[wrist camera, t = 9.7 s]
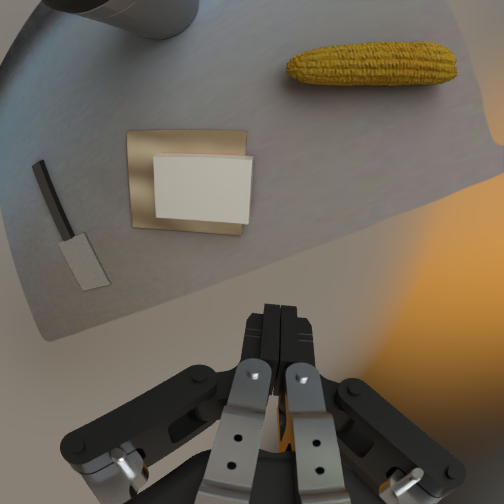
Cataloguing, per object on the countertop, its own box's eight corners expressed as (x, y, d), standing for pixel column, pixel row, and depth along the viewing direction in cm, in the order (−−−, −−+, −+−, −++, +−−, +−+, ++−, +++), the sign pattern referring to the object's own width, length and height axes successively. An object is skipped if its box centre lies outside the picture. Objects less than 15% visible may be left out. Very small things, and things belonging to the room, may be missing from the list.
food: (435, 45, 28) (457, 40, 23) (443, 84, 30) (466, 85, 25) (281, 55, 32) (282, 48, 26) (292, 98, 34) (294, 97, 29)
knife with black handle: (27, 170, 40) (23, 172, 39) (52, 153, 39) (48, 155, 38) (84, 289, 51) (81, 293, 50) (111, 283, 49) (108, 287, 48)
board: (128, 130, 37) (126, 131, 37) (246, 131, 36) (246, 131, 36) (134, 225, 44) (133, 227, 43) (241, 233, 43) (241, 235, 42)
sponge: (254, 155, 37) (161, 152, 38) (252, 160, 35) (153, 156, 35) (250, 215, 41) (163, 209, 42) (248, 224, 38) (156, 217, 39)
